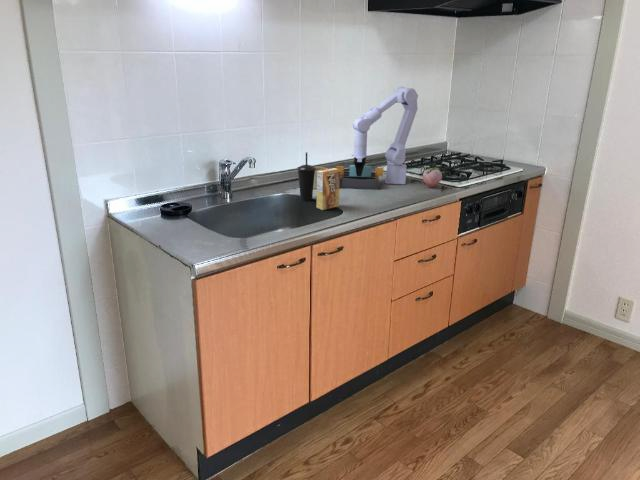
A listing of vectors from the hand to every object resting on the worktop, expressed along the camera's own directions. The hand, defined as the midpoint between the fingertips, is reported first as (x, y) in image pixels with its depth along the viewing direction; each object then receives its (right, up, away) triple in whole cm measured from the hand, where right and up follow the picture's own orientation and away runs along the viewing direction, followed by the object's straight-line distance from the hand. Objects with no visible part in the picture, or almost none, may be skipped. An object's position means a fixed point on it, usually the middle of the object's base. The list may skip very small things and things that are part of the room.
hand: (359, 174), depth 243 cm
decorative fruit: (+33, -6, 0) cm, 34 cm away
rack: (0, -5, +2) cm, 5 cm away
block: (0, -4, +1) cm, 4 cm away
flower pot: (-19, -7, -4) cm, 21 cm away
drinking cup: (-24, -14, -23) cm, 36 cm away
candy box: (-15, -18, -33) cm, 40 cm away
